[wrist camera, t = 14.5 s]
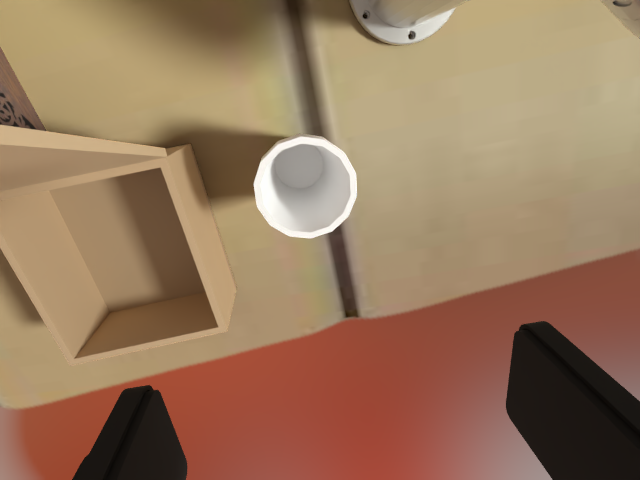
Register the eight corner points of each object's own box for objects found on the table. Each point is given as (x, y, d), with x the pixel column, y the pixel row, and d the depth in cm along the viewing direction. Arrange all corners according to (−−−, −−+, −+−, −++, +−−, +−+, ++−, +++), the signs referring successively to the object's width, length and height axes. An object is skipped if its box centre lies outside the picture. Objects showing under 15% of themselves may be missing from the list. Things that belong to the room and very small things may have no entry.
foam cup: (351, 153, 45) (377, 175, 33) (310, 213, 47) (321, 254, 35) (286, 108, 42) (288, 114, 30) (246, 175, 44) (234, 205, 32)
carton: (36, 174, 42) (-33, 197, 33) (190, 143, 42) (166, 157, 33) (107, 315, 49) (68, 366, 40) (237, 287, 50) (227, 331, 41)
